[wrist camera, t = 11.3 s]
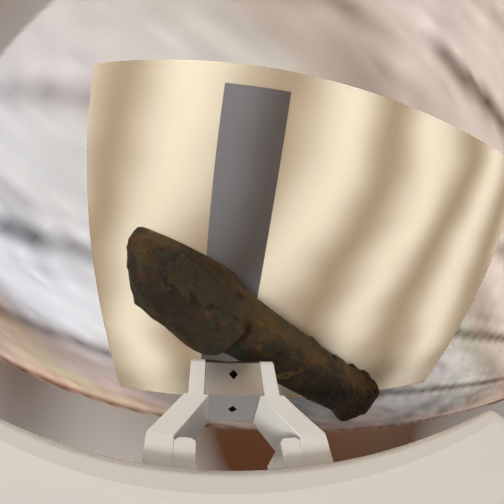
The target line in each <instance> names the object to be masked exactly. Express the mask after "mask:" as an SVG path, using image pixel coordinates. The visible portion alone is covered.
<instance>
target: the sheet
mask: <svg viewBox="0 0 504 504" xmlns="http://www.w3.org/2000/svg"><path fill="white" fill-rule="evenodd" d="M87 194H88V213H89V226H90V237H91V246H92V255H93V263H94V270H95V277H96V283H97V289H98V295H99V301H100V306H101V311H102V316H103V321H104V325H105V330H106V334H107V338H108V342H109V346H110V350H111V354H112V358H113V362H114V365H115V369H116V372H117V376H118V379H119V382H120V386H122V387H128V388H134V389H140V390H147V391H154V392H161V393H170V394H179V395H183V394H184V393H188V391H189V379H190V367H191V360H192V358H196V359H205V364H206V359H209V360H221V361H238V360H236V359H234V358H232V357H231V356H229V355H227V354H225V353H221V354H219V355H203V354H201V353H198V352H196V351H194V350H192V349H191V348H189V347H188V346H186V345H185V344H184V343H182V342H181V341H180V340H179V339H178V338H177V337H176V336H174V335H173V334H172V333H171V332H170V331H169V330H168V329H166V328H165V327H164V326H163V325H161V324H160V323H158V322H157V321H155V320H153V319H152V318H151V317H150V316H149V315H148V314H147V313H146V312H145V311H143V310H142V309H141V308H140V307H138V306H137V305H135V304H134V298H133V294H132V291H131V288H130V282H129V274H128V269H127V266H126V265H127V248H126V246H127V244H128V239H129V237H130V236H131V234H132V233H133V231H134V230H135V229H136V228H137V227H145V228H148V229H150V230H153V231H155V232H157V233H160V234H162V235H165V236H167V237H169V238H172V239H174V240H176V241H178V242H180V243H182V244H184V245H186V246H188V247H190V248H192V249H194V250H196V251H198V252H200V253H202V254H204V255H206V256H208V257H210V258H212V259H213V260H215V261H216V262H218V263H220V264H221V265H223V266H224V267H226V268H227V269H229V270H230V271H231V272H233V273H234V274H235V275H236V277H237V279H238V281H239V282H240V283H241V284H242V285H243V286H244V287H245V288H246V289H247V290H248V291H249V292H250V293H251V294H252V295H253V296H255V297H256V298H257V299H259V300H260V301H261V302H263V303H264V304H265V305H266V306H268V307H269V308H270V309H272V310H273V311H274V312H276V313H277V314H279V315H280V316H281V317H282V318H284V319H285V320H286V321H288V322H289V323H291V324H292V325H294V326H295V327H297V328H298V329H299V330H300V331H302V332H303V333H305V334H306V335H308V336H312V337H313V338H314V339H315V340H316V341H317V342H318V343H319V344H320V345H321V346H322V347H323V348H325V349H326V350H328V351H329V352H330V353H332V354H335V355H337V356H338V357H340V358H342V359H343V360H344V361H345V363H347V364H348V365H349V364H351V363H353V364H354V365H355V366H356V367H357V368H358V369H359V370H365V371H366V372H368V373H369V375H370V377H371V379H373V380H375V382H376V383H377V385H378V388H379V390H383V389H389V388H395V387H401V386H406V385H411V384H416V383H421V382H424V380H425V379H426V378H427V376H428V375H429V373H430V372H431V371H432V369H433V368H434V366H435V365H436V363H437V362H438V360H439V359H440V357H441V356H442V354H443V353H444V351H445V349H446V348H447V346H448V345H449V343H450V341H451V340H452V338H453V336H454V335H455V333H456V331H457V329H458V328H459V326H460V324H461V322H462V321H463V319H464V317H465V315H466V313H467V311H468V309H469V308H470V306H471V304H472V302H473V300H474V298H475V296H476V294H477V291H478V289H479V287H480V285H481V283H482V281H483V279H484V276H485V274H486V272H487V269H488V267H489V265H490V262H491V260H492V257H493V255H494V252H495V250H496V247H497V244H498V242H499V239H500V236H501V233H502V230H503V227H504V155H503V154H502V153H500V152H498V151H497V150H495V149H494V148H492V147H490V146H489V145H487V144H485V143H483V142H482V141H480V140H478V139H476V138H475V137H473V136H471V135H469V134H467V133H465V132H464V131H462V130H460V129H458V128H456V127H454V126H452V125H450V124H448V123H446V122H444V121H441V120H439V119H437V118H435V117H433V116H431V115H428V114H426V113H424V112H421V111H419V110H417V109H414V108H412V107H409V106H407V105H404V104H402V103H399V102H396V101H394V100H391V99H388V98H386V97H383V96H380V95H377V94H374V93H371V92H368V91H365V90H362V89H358V88H355V87H352V86H348V85H345V84H341V83H338V82H334V81H330V80H326V79H322V78H318V77H314V76H309V75H305V74H300V73H295V72H290V71H285V70H279V69H273V68H267V67H261V66H254V65H246V64H237V63H228V62H216V61H201V60H133V61H119V62H107V63H98V64H94V70H93V78H92V86H91V95H90V105H89V118H88V136H87ZM278 389H279V394H280V396H285V397H286V398H305V397H303V396H301V395H299V394H297V393H295V392H294V391H291V390H289V389H287V388H285V387H283V386H281V385H279V384H278Z"/></svg>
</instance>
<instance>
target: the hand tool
mask: <svg viewBox="0 0 504 504" xmlns="http://www.w3.org/2000/svg"><path fill="white" fill-rule="evenodd" d="M126 248H127V265H126V266H127V269H128V274H129V282H130V288H131V291H132V294H133V298H134V304H135V305H137V306H138V307H140V308H141V309H142V310H143V311H145V312H146V313H147V314H148V315H149V316H150V317H151V318H152V319H153V320H155V321H157V322H158V323H160V324H161V325H163V326H164V327H165V328H166V329H168V330H169V331H170V332H171V333H172V334H173V335H174V336H176V337H177V338H178V339H179V340H180V341H181V342H182V343H184V344H185V345H186V346H188V347H189V348H191V349H192V350H194V351H196V352H198V353H201V354H203V355H219V354H221V353H225V354H227V355H229V356H231V357H232V358H234V359H236V360H238V361H257V362H273V364H274V369H275V374H276V379H277V384H279V385H281V386H283V387H285V388H287V389H289V390H291V391H294V392H295V393H297V394H299V395H301V396H303V397H305V398H306V399H308V400H311V401H313V402H315V403H318V404H320V405H322V406H324V407H327V408H329V409H330V410H332V411H333V413H334V414H335V415H336V417H337V418H338V419H340V420H341V421H347V420H349V419H352V418H355V417H357V416H359V415H362V414H365V413H366V412H367V411H368V409H369V408H370V407H371V405H372V404H373V402H374V401H375V399H376V398H377V397H378V395H379V388H378V385H377V383H376V382H375V380H373V379H371V377H370V375H369V373H368V372H366V371H365V370H359V369H358V368H357V367H356V366H355V365H354V364H353V363H351V364H349V365H348V364H347V363H345V361H344V360H343V359H342V358H340V357H338V356H337V355H335V354H332V353H330V352H329V351H328V350H326V349H325V348H323V347H322V346H321V345H320V344H319V343H318V342H317V341H316V340H315V339H314V338H313V337H312V336H308V335H306V334H305V333H303V332H302V331H300V330H299V329H298V328H297V327H295V326H294V325H292V324H291V323H289V322H288V321H286V320H285V319H284V318H282V317H281V316H280V315H279V314H277V313H276V312H274V311H273V310H272V309H270V308H269V307H268V306H266V305H265V304H264V303H263V302H261V301H260V300H259V299H257V298H256V297H255V296H253V295H252V294H251V293H250V292H249V291H248V290H247V289H246V288H245V287H244V286H243V285H242V284H241V283H240V282H239V281H238V279H237V277H236V275H235V274H234V273H233V272H231V271H230V270H229V269H227V268H226V267H224V266H223V265H221V264H220V263H218V262H216V261H215V260H213V259H212V258H210V257H208V256H206V255H204V254H202V253H200V252H198V251H196V250H194V249H192V248H190V247H188V246H186V245H184V244H182V243H180V242H178V241H176V240H174V239H172V238H169V237H167V236H165V235H162V234H160V233H157V232H155V231H153V230H150V229H148V228H145V227H137V228H136V229H135V230H134V231H133V233H132V234H131V236H130V237H129V239H128V244H127V246H126Z"/></svg>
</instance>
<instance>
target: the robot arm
mask: <svg viewBox="0 0 504 504" xmlns="http://www.w3.org/2000/svg"><path fill="white" fill-rule="evenodd" d="M208 421H235V422H253V424H254V425H255V427H256V428H257V429H258V430H259V431H260V433H261V434H262V435H263V437H264V438H265V439H266V440H267V441H268V443H269V444H270V445H271V446H272V448H273V449H274V450H275V451H276V452H275V454H274V455H273V457H272V459H271V461H270V463H269V465H268V470H259V471H209V470H197V462H196V441H195V439H196V438H197V436H198V435H199V433H200V432H201V431H202V429H203V428H204V427H205V425H206V424H207V422H208ZM0 504H504V417H502V416H501V415H499V414H497V413H495V412H493V411H487V412H484V413H482V414H480V415H478V416H476V417H474V418H472V419H470V420H468V421H466V422H463V423H461V424H459V425H457V426H454V427H452V428H450V429H447V430H445V431H442V432H440V433H437V434H435V435H432V436H429V437H427V438H424V439H421V440H418V441H415V442H412V443H409V444H406V445H403V446H400V447H397V448H393V449H390V450H387V451H382V452H379V453H375V454H371V455H367V456H362V457H358V458H353V459H349V460H344V461H339V462H333V460H332V455H331V452H330V448H329V445H328V441H327V438H326V434H325V433H324V432H323V431H322V430H321V429H320V428H318V427H317V426H316V425H315V424H314V423H313V422H312V421H311V420H309V419H308V418H307V417H306V416H305V415H304V414H303V413H302V412H301V411H300V410H299V409H297V408H296V407H295V406H294V405H293V404H292V403H291V402H290V401H289V400H288V399H287V398H286V397H285V396H280V394H279V389H278V384H277V379H276V374H275V369H274V364H273V362H257V361H221V360H209V359H206V364H205V359H196V358H192V360H191V367H190V379H189V391H188V393H184V394H183V395H182V396H181V397H180V398H179V399H178V400H177V401H176V402H175V403H174V404H173V405H172V406H171V407H170V408H169V409H168V410H167V411H166V412H165V413H164V414H163V415H162V416H161V417H160V418H159V420H157V421H156V422H155V423H154V424H153V425H152V426H151V427H150V428H149V429H148V430H147V431H146V437H145V444H144V450H143V458H142V463H136V462H130V461H125V460H120V459H115V458H111V457H107V456H102V455H98V454H94V453H91V452H87V451H83V450H79V449H76V448H73V447H70V446H67V445H64V444H60V443H58V442H55V441H52V440H49V439H46V438H44V437H41V436H38V435H36V434H33V433H31V432H28V431H26V430H24V429H21V428H19V427H17V426H15V425H12V424H10V423H8V422H6V421H4V420H2V419H0Z"/></svg>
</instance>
